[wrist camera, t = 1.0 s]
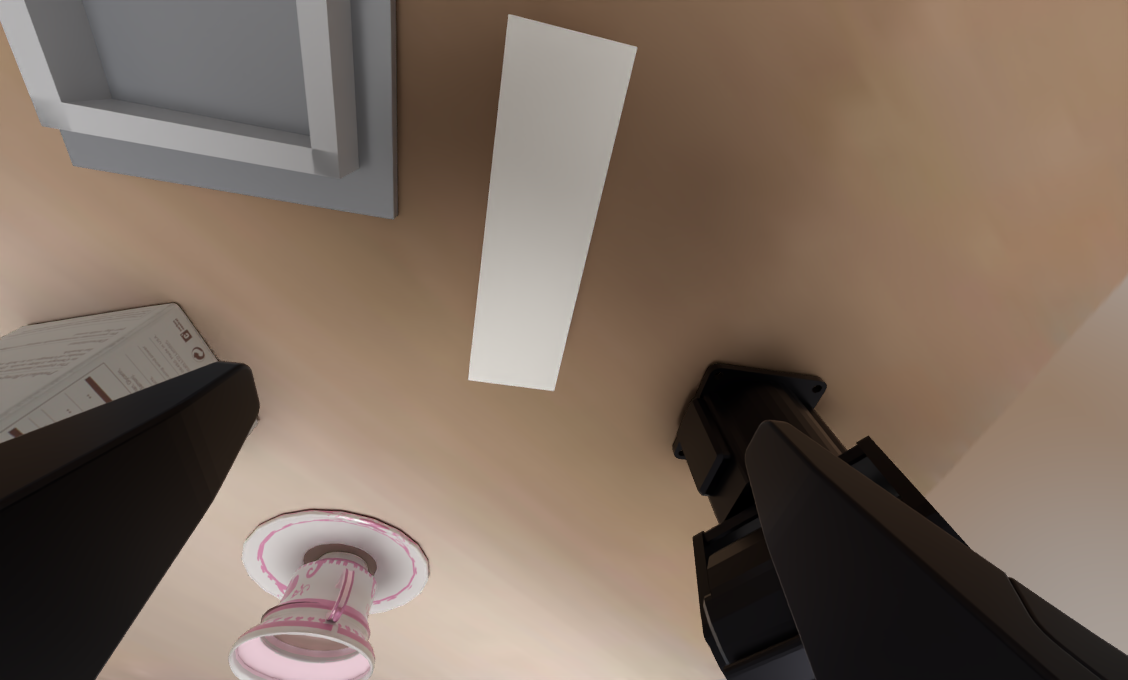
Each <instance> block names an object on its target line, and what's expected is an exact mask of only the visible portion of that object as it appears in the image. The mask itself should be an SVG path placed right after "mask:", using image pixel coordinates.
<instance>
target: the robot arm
mask: <svg viewBox="0 0 1128 680" xmlns="http://www.w3.org/2000/svg"><path fill="white" fill-rule="evenodd" d="M717 372H720V374H718V375H715V374H716V373H717ZM816 385H817V386H816ZM814 386H816V387H814ZM813 387H814V388H813ZM826 388H827V385H826V383H825V382H824V381H823V380H822V379H821V378H820V377H815V376H808V375H801V374H793V373H786V372H779V371H772V370H764V369H757V368H750V367H742V366H735V365H728V364H720V363H717V364H713V365H711V366H710V367H709V368H708V369H707V371H706V373H705V376H704V378H703V380H702V382H701V385H700V387H699V389H698V391H697V394H696V396H695V398H694V399H693V400H692V401H691V402H690V404H689V407H688V409H687V411H686V413H685V416H684V418H683V420H682V422H681V425H680V427H679V429H678V432H677V438H676V441H675V443H674V445H673V449H672V450H673V452H674V455H675V457H676V458H678V459H685V460H687V463H688V466H689V468H690V471H691V474H692V476H693V479H694V482H695V484H696V487H697V490H698V491H699V493H700V494H701V495H703V496H708V498H709V501H710V503H711V506H712V508H713V511H714V513H715V516H716V518H717V521H718V523H719V524H718V525H717V526H715V527H713V528H711V529H710V530H708V531H706V532H704V531H702V532H700V533H698V534H697V535H695V536H693V546H694V556H695V565H696V575H697V584H698V594H699V604H700V613H701V619H702V627H703V634H704V638H705V640H706V642H707V644H708V645H709V647H710V648H711V651H712V653H713V655H714V657H715V659H716V661H717V663H718V665H719V667H720V669H721V671H722V672H723V674H724V676H725V677H726V679H727V680H1128V655H1126V654H1125V653H1123V652H1122V651H1120V650H1118V649H1117V648H1115V647H1114V646H1112V645H1111V644H1109V643H1107V642H1106V641H1105V640H1103V639H1101V638H1100V637H1098V636H1097V635H1095V634H1094V633H1092V632H1091V631H1090V630H1088V629H1086V628H1085V627H1084V626H1082V625H1081V624H1079V623H1078V622H1076V621H1075V620H1073V619H1072V618H1070V617H1069V616H1067V615H1066V614H1064V613H1063V612H1061V611H1060V610H1058V609H1057V608H1055V607H1054V606H1053V605H1051V604H1050V603H1048V602H1047V601H1045V600H1044V599H1042V598H1041V597H1039V596H1038V595H1037V594H1035V593H1034V592H1032V591H1031V590H1029V589H1028V588H1026V587H1025V586H1023V585H1022V584H1021V583H1019V582H1018V581H1016V580H1015V579H1013V578H1010V577H1007V575H1006V574H1005V573H1004V572H1003V571H1002V570H1000V569H999V568H997V567H996V566H994V565H993V564H992V563H990V562H988V561H987V560H986V559H984V558H983V557H981V556H980V555H979V554H977V553H975V552H974V551H973V550H971V549H970V547H969V546H968V545H967V544H966V543H965V542H964V541H963V540H962V539H961V537H960V536H959V535H958V534H957V533H956V532H955V531H954V530H953V529H952V527H951V526H950V525H949V524H948V523H947V522H946V521H945V520H944V518H943V517H942V516H941V515H940V514H939V513H938V512H937V511H936V510H935V509H934V507H933V506H932V505H931V504H930V503H929V502H928V501H927V500H926V499H925V497H924V496H923V495H922V494H921V493H920V492H919V491H918V490H917V489H916V488H915V486H914V485H913V484H912V483H911V482H910V481H909V480H908V479H907V478H906V477H905V475H904V474H903V473H902V472H901V471H900V470H899V469H898V468H897V467H896V466H895V464H894V463H893V462H892V461H891V460H890V459H889V458H888V457H887V456H886V455H885V453H884V452H883V451H882V450H881V449H880V448H879V447H878V446H877V445H876V443H875V442H874V441H873V440H872V439H871V438H870V437H869V436H867V437H865V438H863V439H862V440H860V441H858V442H856V443H857V445H856V446H854V447H853V448H851V449H849V450H847V449H846V448H845V447H844V446H843V445H842V443H841V442H840V441H839V440H838V438H837V437H836V436H835V435H834V433H833V432H832V431H831V430H830V428H829V427H828V426H827V425H826V424H825V422H824V421H823V420H822V419H821V417H820V416H819V415H818V414H817V412H816V411H815V410H814V407H815V406H816V404H817V403H818V401H819V400H820V398H821V397H822V395H823V393H824V392H825V390H826ZM259 408H260V403H259V398H258V394H257V390H256V386H255V382H254V378H253V374H252V371H251V369H250V367H249V366H248V365H246V364H244V363H236V362H227V361H217V362H214V363H211V364H208V365H206V366H203V367H200V368H198V369H195V370H192V371H190V372H187V373H184V374H182V375H179V376H177V377H174V378H171V379H169V380H166V381H163V382H161V383H158V384H155V385H153V386H150V387H147V388H145V389H142V390H139V391H137V392H134V393H132V394H129V395H126V396H124V397H121V398H118V399H116V400H113V401H110V402H108V403H105V404H102V405H100V406H97V407H94V408H92V409H89V410H87V411H84V412H81V413H79V414H76V415H73V416H71V417H68V418H65V419H63V420H60V421H57V422H55V423H52V424H49V425H47V426H44V427H42V428H39V429H36V430H34V431H31V432H28V433H26V434H23V435H20V436H18V437H15V438H12V439H10V440H7V441H4V442H2V443H0V680H95V679H96V678H97V676H98V675H99V673H100V672H101V670H102V669H103V667H104V666H105V664H106V663H107V661H108V660H109V658H110V657H111V655H112V654H113V652H114V651H115V649H116V647H117V646H118V644H119V643H120V641H121V640H122V638H123V637H124V635H125V634H126V632H127V631H128V629H129V628H130V626H131V625H132V623H133V622H134V620H135V619H136V617H137V616H138V614H139V613H140V611H141V610H142V608H143V607H144V605H145V604H146V602H147V601H148V599H149V598H150V596H151V595H152V593H153V592H154V590H155V589H156V587H157V586H158V584H159V583H160V581H161V580H162V578H163V577H164V575H165V573H166V572H167V570H168V569H169V567H170V566H171V564H172V563H173V561H174V560H175V558H176V557H177V555H178V554H179V552H180V551H181V549H182V548H183V546H184V545H185V543H186V542H187V540H188V539H189V537H190V536H191V534H192V533H193V531H194V530H195V528H196V527H197V525H198V524H199V522H200V521H201V519H202V518H203V516H204V515H205V513H206V511H207V510H208V508H209V507H210V505H211V503H212V502H213V500H214V498H215V497H216V495H217V493H218V491H219V490H220V488H221V486H222V484H223V482H224V480H225V478H226V476H227V474H228V472H229V470H230V469H231V467H232V465H233V463H234V461H235V459H236V457H237V455H238V453H239V451H240V449H241V447H242V445H243V443H244V442H245V440H246V438H247V436H248V434H249V432H250V430H251V428H252V426H253V424H254V422H255V420H256V418H257V416H258V413H259ZM681 450H682V451H681Z"/></svg>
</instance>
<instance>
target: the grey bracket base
mask: <svg viewBox="0 0 1128 680" xmlns="http://www.w3.org/2000/svg"><path fill="white" fill-rule="evenodd" d="M0 21H1V24H2V26H3V29H4V31H5V34H6V36H7V39H8V42H9V44H10V47H11V49H12V52H13V54H14V57H15V59H16V62H17V64H18V67H19V69H20V72H21V74H22V77H23V79H24V82H25V85H26V87H27V90H28V92H29V95H30V97H31V100H32V102H33V105H34V107H35V110H36V112H37V115H38V117H39V120H40V122H41V125H42V126H44V127H50V128H55V129H60V132H61V135H62V137H63V140H64V143H65V145H66V148H67V151H68V153H69V156H70V159H71V161H72V164H73V166H77V167H82V168H88V169H94V170H100V171H106V172H112V173H118V174H124V175H130V176H136V177H142V178H148V179H154V180H160V181H166V182H172V183H178V184H184V185H190V186H196V187H202V188H208V189H214V190H220V191H226V192H232V193H238V194H244V195H250V196H256V197H262V198H268V199H274V200H280V201H285V202H291V203H297V204H303V205H309V206H315V207H321V208H327V209H333V210H339V211H345V212H351V213H357V214H363V215H369V216H375V217H381V218H387V219H393V220H394V219H395V218H396V217H397V216H398V175H397V70H396V0H0Z"/></svg>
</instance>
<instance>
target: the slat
mask: <svg viewBox="0 0 1128 680" xmlns="http://www.w3.org/2000/svg"><path fill="white" fill-rule="evenodd" d="M636 51H637V47H636V46H632V45H628V44H624V43H620V42H616V41H612V40H608V39H604V38H601V37H597V36H593V35H589V34H585V33H581V32H577V31H573V30H569V29H565V28H562V27H558V26H554V25H550V24H546V23H542V22H538V21H534V20H530V19H526V18H523V17H519V16H515V15H511V14H508V23H507V32H506V42H505V51H504V60H503V69H502V78H501V87H500V96H499V105H498V114H497V123H496V132H495V141H494V150H493V159H492V168H491V177H490V186H489V196H488V205H487V214H486V223H485V232H484V241H483V250H482V259H481V268H480V277H479V286H478V295H477V304H476V313H475V322H474V331H473V341H472V350H471V359H470V368H469V377H468V380H472V381H480V382H487V383H495V384H503V385H511V386H518V387H526V388H534V389H542V390H549V391H554V389H555V385H556V381H557V377H558V372H559V368H560V364H561V360H562V356H563V352H564V348H565V344H566V339H567V335H568V331H569V327H570V323H571V319H572V315H573V311H574V306H575V302H576V298H577V294H578V290H579V286H580V282H581V278H582V273H583V269H584V265H585V261H586V257H587V253H588V249H589V245H590V241H591V236H592V232H593V228H594V224H595V220H596V216H597V212H598V208H599V203H600V199H601V195H602V191H603V187H604V183H605V179H606V175H607V170H608V166H609V162H610V158H611V154H612V150H613V146H614V142H615V137H616V133H617V129H618V125H619V121H620V117H621V113H622V109H623V105H624V100H625V96H626V92H627V88H628V84H629V80H630V76H631V72H632V67H633V63H634V59H635V55H636Z"/></svg>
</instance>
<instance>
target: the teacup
mask: <svg viewBox="0 0 1128 680" xmlns="http://www.w3.org/2000/svg"><path fill="white" fill-rule="evenodd" d="M323 544H344V545H349V546H353V547H356V548H358V549H361V550H363V551H365V552H366V553H368V554H369V555H370V556H372V557H373V559H374V560H375V562H376V566H377V569H376V571H375V574H374V575H373V576H372V574H370V573H369V572H368V568H367V564H366V562H365V561H364V560H363V559H362V558H360V557H359V556H357V555H354V554H351V553H347V552H330V553H327V554H324V555H323V556H321V557H320V558H319V559H318V560H317V561H313V562H310V563H307V564H304V561H303V559H304V556H305V553H306V552H307V551H308V550H310V549H311V548H313V547H315V546H318V545H323ZM241 560H242V562H243V564H244V566H245V569H246V571H247V573H248V575H249V576H250V577H251V578H252V579H253V580H254V581H255V582H256V583H257V584H258V585H259V586H260V587H261V588H262V589H263V590H264V591H266V592H268V593H270V594H271V595H273V596H275V597H277V598H278V599H280V600H281V601H280V603H279V604H278V605H277V606H275V607H273V608H271V609H269V610H268V611H267V612H266V613H265V614H264V615H263V616H262V619H261V623H260V624H258V625H256V626H254V627H252V628H250V629H249V630H248V631H246V632H245V633H244V634H243V635H241V636H240V637H239V638H238V639H237V641H236V642H235V643H234V645H233V647H232V649H231V651H230V654H229V658H228V661H229V665H230V668H231V670H232V672H233V673H234V674H235V675H236V676H237V677H238V678H239V679H240V680H368V679H369V678H370V676H371V675H372V673H373V670H374V666H375V655H374V651H373V647H372V646H371V644H370V642H369V641H368V640H369V638H370V629H369V625H368V616H369V614H374V613H381V612H386V611H389V610H392V609H394V608H397V607H400V606H402V605H405V604H407V603H408V602H410V601H411V600H412V599H414V598H415V597H416V596H418V595H419V594H421V592H422V590H423V588H424V586H425V584H426V583H427V581H428V578H429V570H428V560H427V558H426V557H425V555H424V554H423V552H422V550H421V549H420V547H419V546H418V545H417V544H416V543H415V542H414V541H412V540H411V539H410V538H409V537H407V536H406V535H405V534H404V533H402V532H401V531H400V530H398V529H395V528H393V527H391V526H389V525H387V524H384V523H382V522H380V521H378V520H375V519H373V518H369V517H364V516H360V515H356V514H351V513H347V512H342V511H318V510H308V511H302V512H296V513H290V514H284V515H280V516H278V517H276V518H274V519H271V520H269V521H267V522H265V523H263V524H261V525H259V526H258V527H257V528H256V529H255V530H254V531H253V533H252V534H251V535H250V536H249V537H248V538H247V539H246V541H245V542H244V546H243V552H242V558H241Z"/></svg>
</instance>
